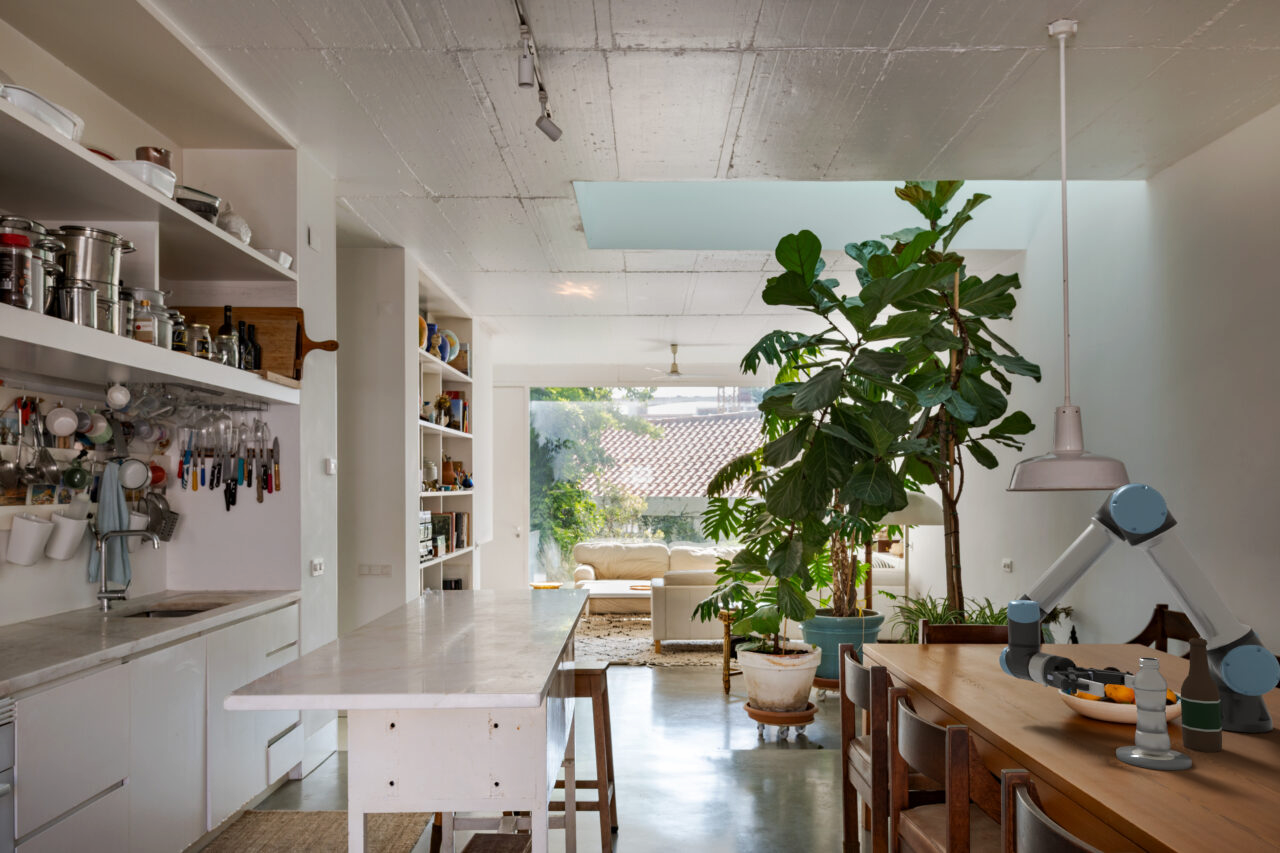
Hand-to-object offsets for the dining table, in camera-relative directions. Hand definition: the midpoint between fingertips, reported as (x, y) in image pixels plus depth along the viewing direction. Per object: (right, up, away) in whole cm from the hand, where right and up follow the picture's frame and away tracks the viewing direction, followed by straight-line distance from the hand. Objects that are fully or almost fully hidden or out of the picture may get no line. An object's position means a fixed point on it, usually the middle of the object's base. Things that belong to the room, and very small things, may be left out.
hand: (1126, 688), depth 203 cm
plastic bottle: (+2, -12, -7) cm, 14 cm away
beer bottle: (+18, -14, +3) cm, 23 cm away
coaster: (+2, -13, -7) cm, 15 cm away
